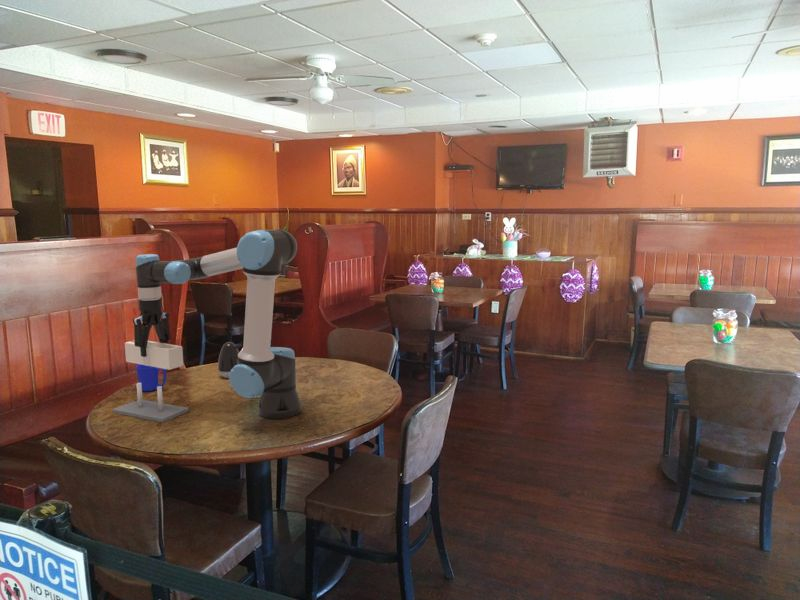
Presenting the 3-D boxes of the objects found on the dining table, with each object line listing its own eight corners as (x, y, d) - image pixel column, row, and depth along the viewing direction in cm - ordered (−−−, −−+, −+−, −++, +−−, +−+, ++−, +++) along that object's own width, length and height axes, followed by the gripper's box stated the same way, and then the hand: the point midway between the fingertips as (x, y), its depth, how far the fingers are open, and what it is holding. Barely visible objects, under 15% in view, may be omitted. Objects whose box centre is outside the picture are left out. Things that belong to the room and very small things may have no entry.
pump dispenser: (239, 380, 241) (237, 344, 239) (215, 380, 241) (213, 345, 239) (246, 373, 251) (244, 339, 249) (222, 373, 251) (220, 339, 249)
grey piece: (189, 411, 204) (187, 384, 202) (162, 422, 193) (160, 394, 191) (140, 402, 214) (138, 376, 212) (112, 412, 203) (110, 385, 201)
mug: (160, 393, 223) (158, 369, 222) (133, 392, 226) (131, 367, 224) (173, 387, 231) (171, 363, 230) (146, 385, 234) (144, 362, 232)
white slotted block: (183, 365, 201) (182, 345, 200) (169, 369, 196) (168, 348, 195) (140, 357, 211) (138, 338, 210) (125, 361, 206) (124, 341, 204)
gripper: (164, 294, 210) (168, 355, 213) (118, 301, 193) (124, 368, 197) (179, 295, 206) (183, 358, 210) (134, 303, 190) (139, 370, 193)
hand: (154, 362), depth 203 cm, fingers closed on white slotted block, 6 cm apart
